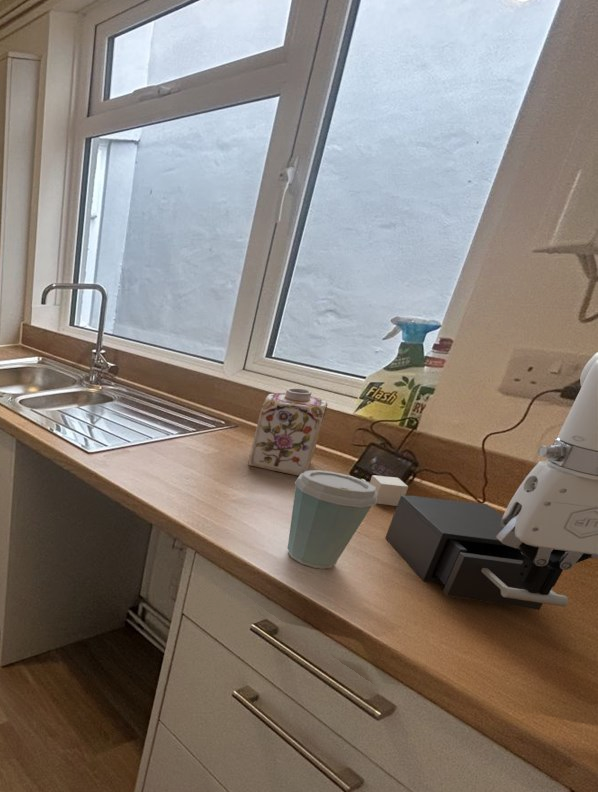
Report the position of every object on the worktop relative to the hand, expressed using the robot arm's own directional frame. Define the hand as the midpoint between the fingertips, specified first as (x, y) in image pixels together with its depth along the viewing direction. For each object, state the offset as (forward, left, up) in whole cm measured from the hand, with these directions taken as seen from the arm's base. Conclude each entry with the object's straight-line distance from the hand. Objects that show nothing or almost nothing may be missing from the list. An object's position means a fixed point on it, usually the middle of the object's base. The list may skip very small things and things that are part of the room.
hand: (531, 587), depth 69 cm
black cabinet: (0, -16, -7) cm, 18 cm away
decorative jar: (+15, -55, -7) cm, 58 cm away
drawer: (0, -8, -6) cm, 10 cm away
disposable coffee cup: (+20, -11, -7) cm, 24 cm away
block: (0, -40, -7) cm, 41 cm away
